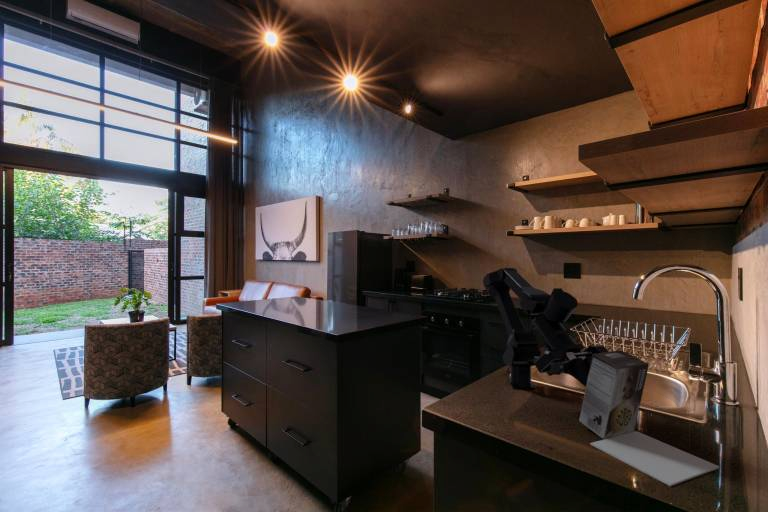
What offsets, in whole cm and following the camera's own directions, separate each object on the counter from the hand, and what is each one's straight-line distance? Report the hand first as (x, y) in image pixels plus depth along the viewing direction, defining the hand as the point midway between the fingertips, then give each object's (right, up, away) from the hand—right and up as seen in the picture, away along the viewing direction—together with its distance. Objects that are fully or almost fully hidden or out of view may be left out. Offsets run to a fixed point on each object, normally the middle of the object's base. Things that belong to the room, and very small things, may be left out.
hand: (596, 391), depth 78 cm
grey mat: (+3, -7, -12) cm, 14 cm away
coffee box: (+1, -7, -2) cm, 7 cm away
